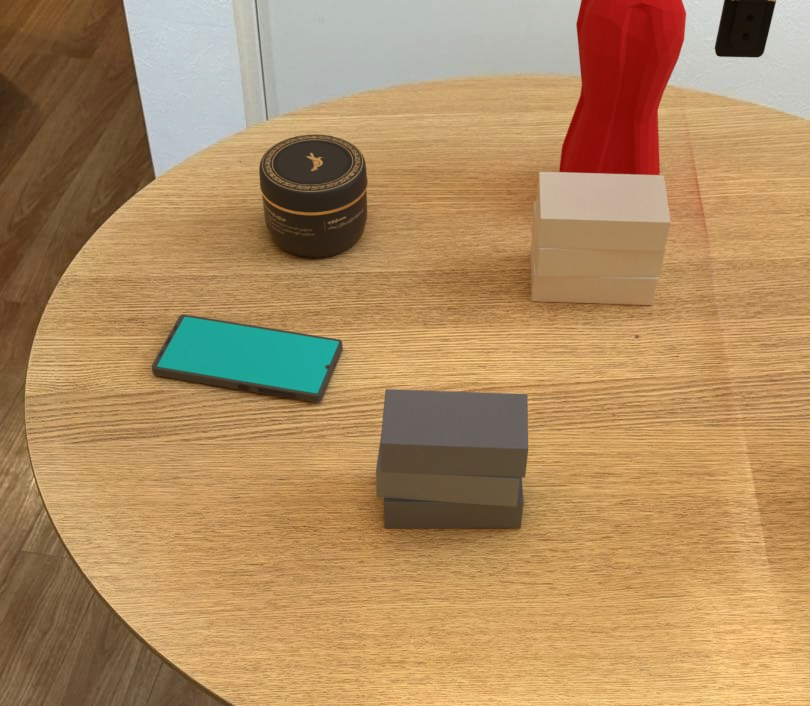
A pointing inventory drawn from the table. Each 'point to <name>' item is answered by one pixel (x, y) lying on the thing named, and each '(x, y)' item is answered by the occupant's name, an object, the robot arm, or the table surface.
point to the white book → (602, 211)
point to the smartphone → (248, 358)
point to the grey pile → (452, 459)
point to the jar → (314, 195)
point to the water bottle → (622, 84)
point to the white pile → (593, 274)
